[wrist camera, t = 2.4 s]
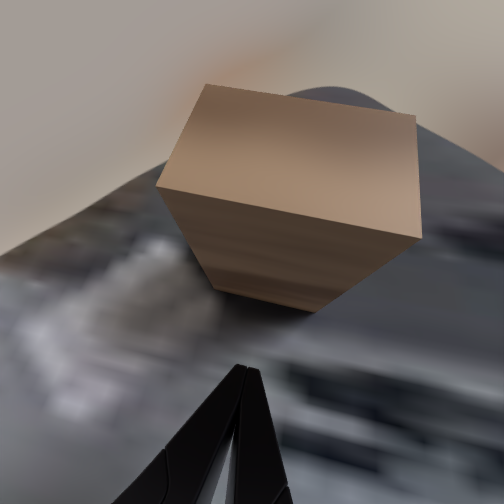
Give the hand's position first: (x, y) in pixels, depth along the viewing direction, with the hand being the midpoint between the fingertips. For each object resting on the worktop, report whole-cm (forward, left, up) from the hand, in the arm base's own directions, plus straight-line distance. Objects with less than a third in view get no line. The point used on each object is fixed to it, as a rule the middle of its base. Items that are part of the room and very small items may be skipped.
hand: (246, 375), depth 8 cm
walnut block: (+6, -3, -7) cm, 9 cm away
